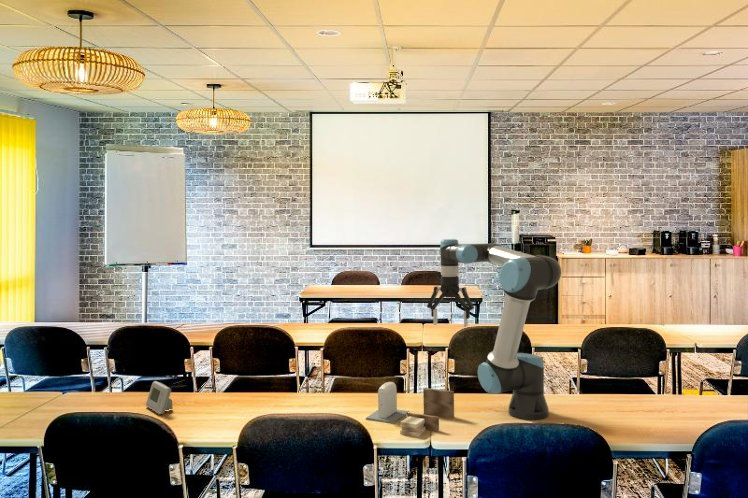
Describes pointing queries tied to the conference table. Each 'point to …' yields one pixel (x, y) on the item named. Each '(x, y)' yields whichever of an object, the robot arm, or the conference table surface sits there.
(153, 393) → the digital clock
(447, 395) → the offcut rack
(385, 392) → the white arched block
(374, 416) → the slate pad
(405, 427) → the offcut stack
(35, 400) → the conference table surface
